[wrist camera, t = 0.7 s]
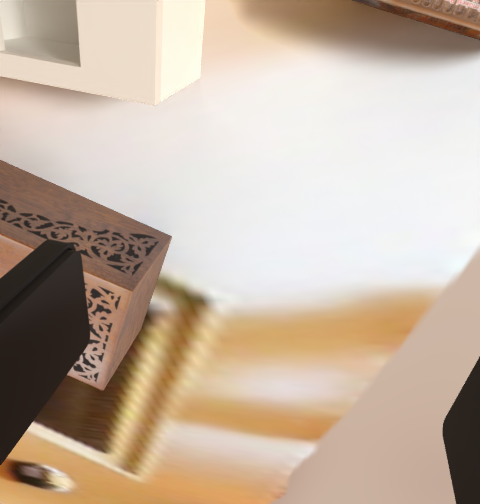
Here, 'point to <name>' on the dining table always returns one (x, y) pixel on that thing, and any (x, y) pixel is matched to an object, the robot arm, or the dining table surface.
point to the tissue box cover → (86, 261)
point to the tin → (436, 13)
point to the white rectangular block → (104, 45)
